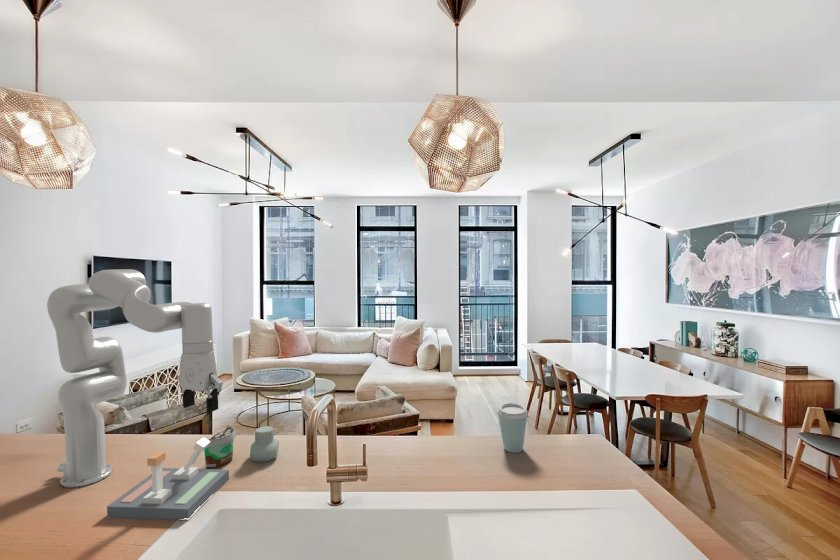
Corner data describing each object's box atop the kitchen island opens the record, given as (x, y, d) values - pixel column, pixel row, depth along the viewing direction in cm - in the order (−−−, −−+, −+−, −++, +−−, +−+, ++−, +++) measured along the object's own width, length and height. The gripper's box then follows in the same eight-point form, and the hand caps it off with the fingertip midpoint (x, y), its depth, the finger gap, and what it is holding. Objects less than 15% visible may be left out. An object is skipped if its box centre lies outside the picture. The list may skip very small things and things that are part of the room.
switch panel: (107, 517, 107) (106, 500, 107) (160, 477, 127) (159, 463, 127) (188, 520, 106) (187, 503, 106) (229, 479, 126) (228, 465, 126)
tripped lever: (148, 493, 109) (147, 458, 108) (158, 486, 112) (156, 452, 112) (157, 493, 108) (156, 458, 108) (166, 486, 112) (165, 452, 112)
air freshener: (254, 452, 144) (253, 424, 143) (279, 449, 146) (278, 421, 145) (249, 467, 133) (248, 437, 133) (275, 464, 135) (275, 434, 135)
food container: (220, 473, 130) (219, 442, 129) (203, 471, 131) (202, 440, 130) (244, 455, 142) (243, 426, 141) (228, 453, 143) (227, 425, 142)
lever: (180, 468, 120) (196, 442, 120) (188, 462, 124) (203, 437, 123) (187, 473, 120) (203, 447, 120) (194, 467, 124) (210, 441, 123)
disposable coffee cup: (531, 455, 140) (531, 412, 139) (499, 455, 140) (500, 412, 139) (524, 442, 150) (524, 401, 150) (494, 442, 151) (494, 401, 150)
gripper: (164, 348, 114) (167, 408, 115) (207, 353, 107) (209, 417, 108) (189, 343, 121) (192, 400, 122) (231, 347, 114) (233, 408, 114)
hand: (200, 408), depth 115 cm, fingers open, 9 cm apart
